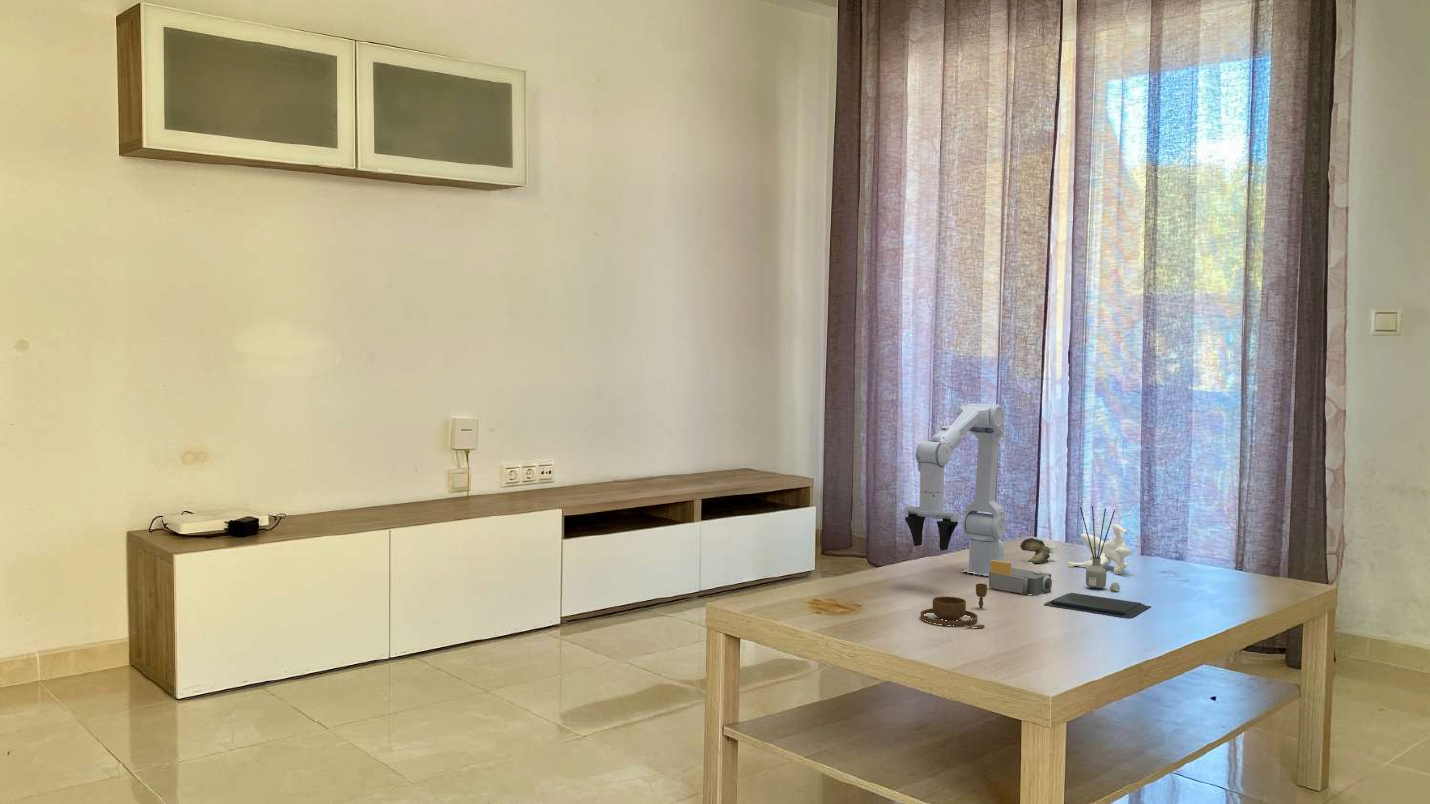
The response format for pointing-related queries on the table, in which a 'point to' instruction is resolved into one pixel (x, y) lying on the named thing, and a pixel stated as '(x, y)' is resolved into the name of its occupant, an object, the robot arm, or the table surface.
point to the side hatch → (1006, 578)
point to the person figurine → (1107, 550)
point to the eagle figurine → (1038, 549)
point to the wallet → (1098, 605)
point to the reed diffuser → (1098, 563)
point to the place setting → (954, 609)
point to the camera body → (1033, 580)
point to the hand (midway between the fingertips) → (930, 547)
